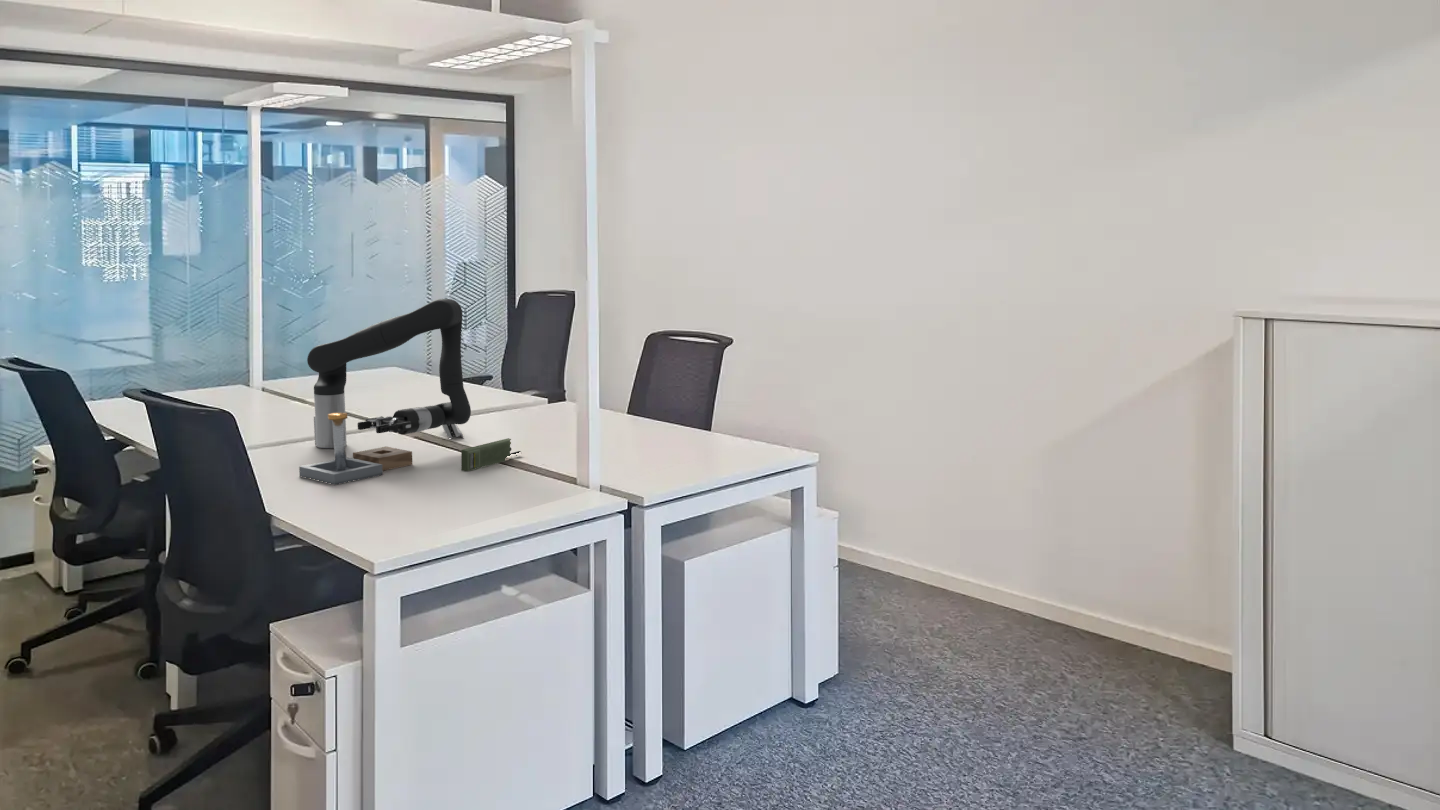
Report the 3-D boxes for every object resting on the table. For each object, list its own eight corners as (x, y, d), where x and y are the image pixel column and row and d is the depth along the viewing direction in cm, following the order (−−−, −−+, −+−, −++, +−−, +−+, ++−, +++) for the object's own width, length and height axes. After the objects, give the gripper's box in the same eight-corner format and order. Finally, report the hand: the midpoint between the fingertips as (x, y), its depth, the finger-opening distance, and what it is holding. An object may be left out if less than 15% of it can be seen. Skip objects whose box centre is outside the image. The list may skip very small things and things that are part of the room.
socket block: (353, 465, 318) (352, 452, 318) (386, 459, 328) (386, 446, 327) (379, 471, 311) (378, 458, 311) (412, 464, 321) (412, 451, 321)
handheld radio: (459, 471, 315) (515, 456, 336) (467, 472, 313) (523, 457, 335) (459, 449, 314) (515, 435, 335) (467, 450, 312) (524, 436, 333)
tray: (299, 476, 304) (299, 466, 303) (347, 467, 317) (347, 457, 316) (334, 485, 295) (334, 474, 294) (382, 474, 308) (382, 464, 307)
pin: (327, 474, 305) (323, 414, 302) (343, 470, 309) (339, 412, 306) (339, 476, 302) (335, 416, 299) (354, 472, 306) (351, 413, 303)
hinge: (464, 438, 362) (453, 411, 359) (450, 443, 361) (439, 416, 358) (458, 429, 377) (448, 403, 375) (445, 434, 376) (435, 408, 373)
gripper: (396, 405, 328) (351, 412, 315) (427, 410, 320) (382, 418, 307) (397, 429, 329) (352, 437, 316) (428, 435, 321) (383, 443, 308)
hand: (367, 428), depth 311 cm, fingers open, 8 cm apart
